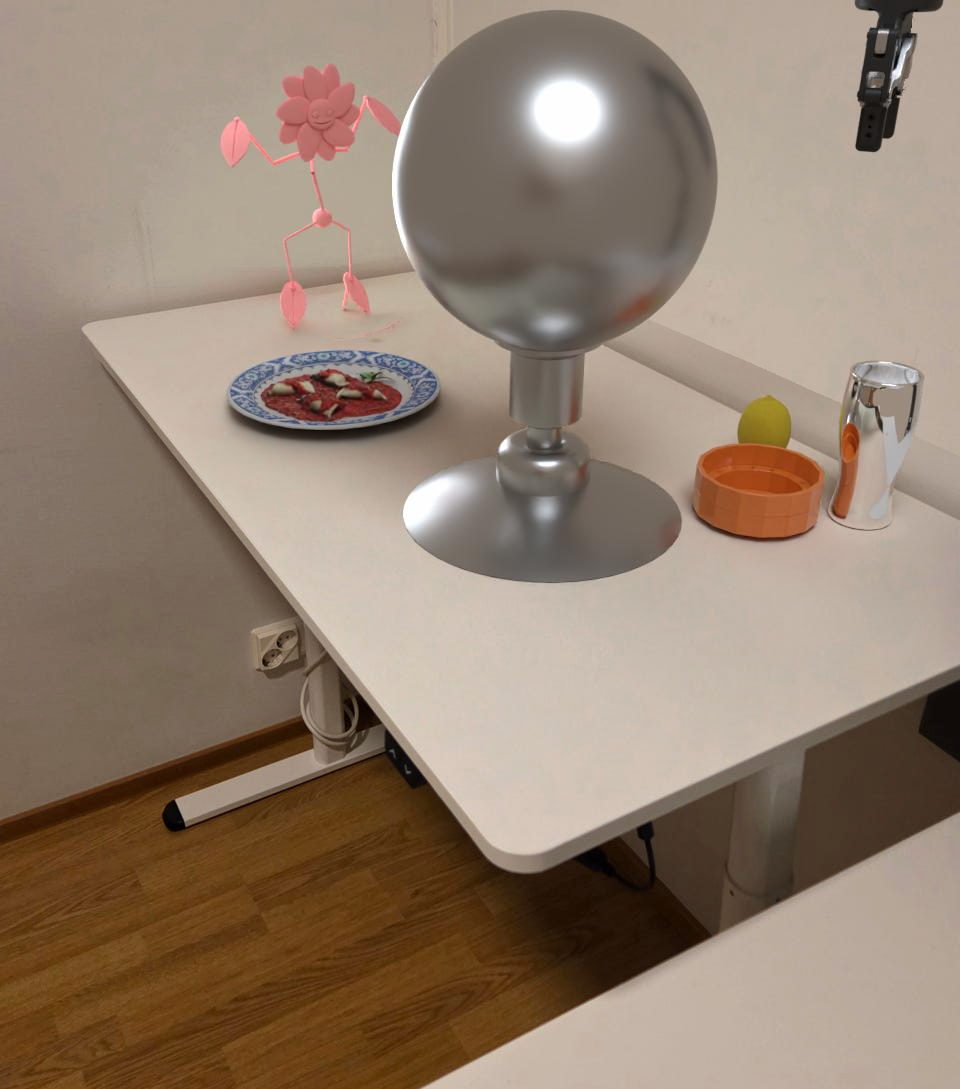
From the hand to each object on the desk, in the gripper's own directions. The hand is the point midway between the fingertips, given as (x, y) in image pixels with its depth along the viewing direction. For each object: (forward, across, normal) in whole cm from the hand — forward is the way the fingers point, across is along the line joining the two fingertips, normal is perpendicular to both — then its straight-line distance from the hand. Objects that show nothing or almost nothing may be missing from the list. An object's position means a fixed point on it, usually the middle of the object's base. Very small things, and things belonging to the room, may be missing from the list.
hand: (874, 144), depth 105 cm
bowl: (+33, -16, +4) cm, 37 cm away
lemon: (+33, -4, +6) cm, 34 cm away
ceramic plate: (+33, -9, +57) cm, 66 cm away
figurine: (+33, +16, +73) cm, 81 cm away
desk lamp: (+33, -25, +23) cm, 47 cm away
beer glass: (+33, -12, -6) cm, 36 cm away
